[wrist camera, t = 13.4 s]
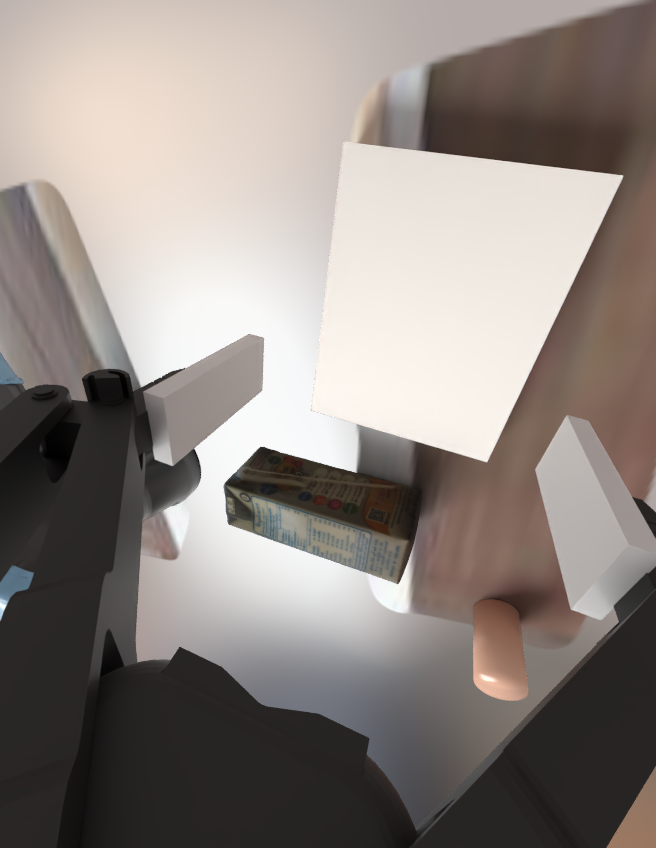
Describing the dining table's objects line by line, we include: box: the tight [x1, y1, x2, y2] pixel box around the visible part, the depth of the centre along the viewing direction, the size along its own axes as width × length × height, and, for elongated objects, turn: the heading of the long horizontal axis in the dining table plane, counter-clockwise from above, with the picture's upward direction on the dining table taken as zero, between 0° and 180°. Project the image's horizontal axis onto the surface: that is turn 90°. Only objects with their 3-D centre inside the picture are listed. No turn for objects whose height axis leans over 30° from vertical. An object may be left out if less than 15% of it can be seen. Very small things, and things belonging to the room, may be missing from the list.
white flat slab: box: [311, 142, 623, 462], centre depth 28 cm, size 16×20×3 cm
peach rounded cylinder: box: [473, 599, 529, 701], centre depth 39 cm, size 5×5×8 cm
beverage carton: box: [224, 447, 421, 584], centre depth 37 cm, size 8×19×7 cm
